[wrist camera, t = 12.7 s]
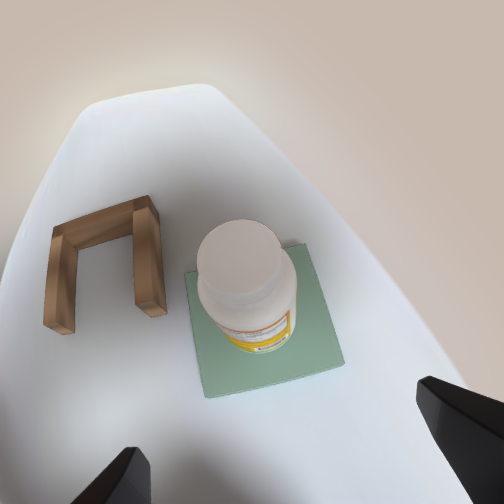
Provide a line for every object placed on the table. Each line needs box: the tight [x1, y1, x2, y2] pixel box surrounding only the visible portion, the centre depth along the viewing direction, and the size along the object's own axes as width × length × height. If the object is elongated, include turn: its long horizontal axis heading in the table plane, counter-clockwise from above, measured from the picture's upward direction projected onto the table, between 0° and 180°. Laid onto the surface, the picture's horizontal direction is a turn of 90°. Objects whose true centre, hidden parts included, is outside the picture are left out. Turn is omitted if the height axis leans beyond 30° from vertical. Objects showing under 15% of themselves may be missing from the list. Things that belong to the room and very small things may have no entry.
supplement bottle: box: [197, 219, 297, 354], centre depth 19 cm, size 5×5×10 cm
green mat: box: [185, 243, 345, 398], centre depth 24 cm, size 10×10×1 cm
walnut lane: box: [43, 195, 167, 335], centre depth 27 cm, size 10×11×3 cm
